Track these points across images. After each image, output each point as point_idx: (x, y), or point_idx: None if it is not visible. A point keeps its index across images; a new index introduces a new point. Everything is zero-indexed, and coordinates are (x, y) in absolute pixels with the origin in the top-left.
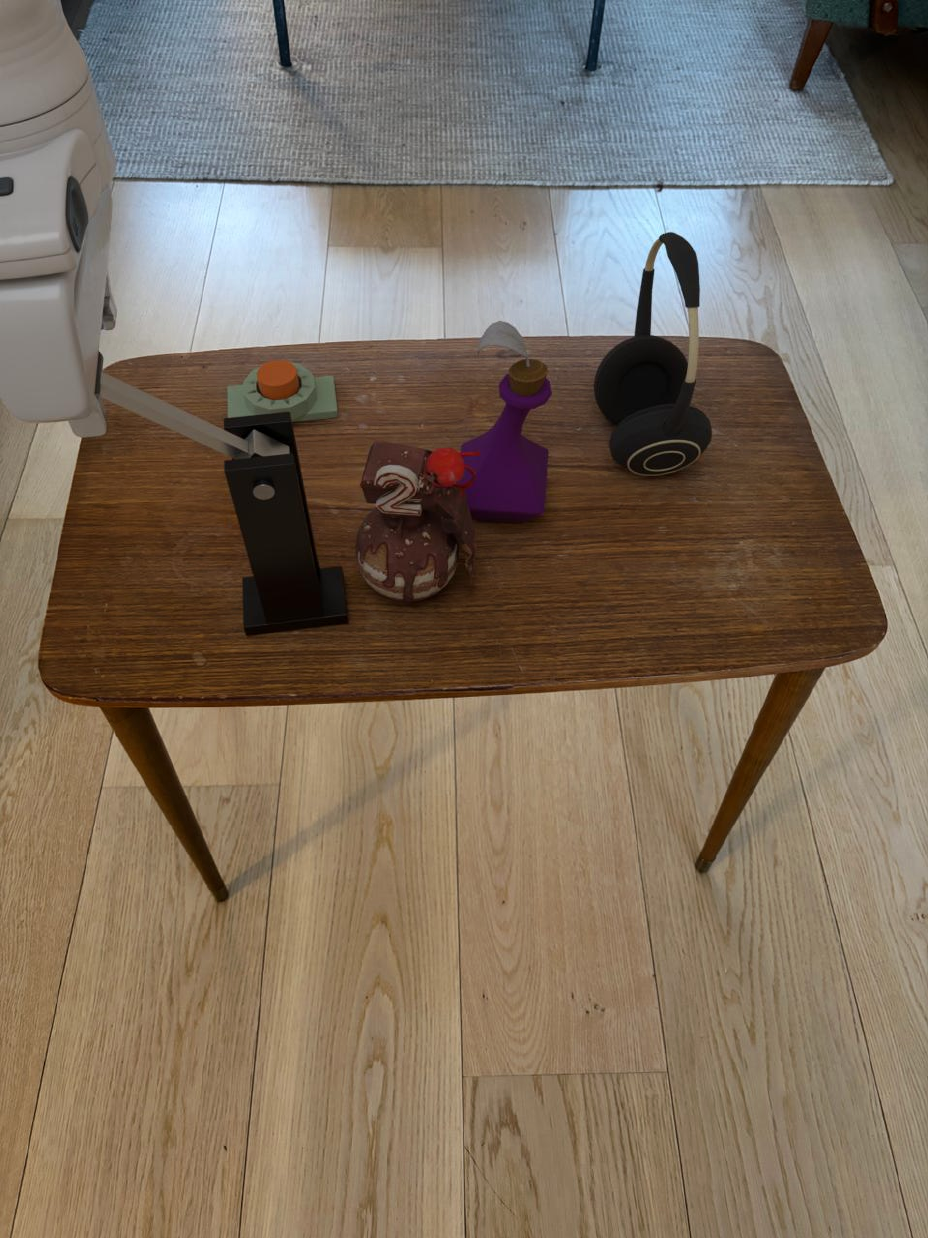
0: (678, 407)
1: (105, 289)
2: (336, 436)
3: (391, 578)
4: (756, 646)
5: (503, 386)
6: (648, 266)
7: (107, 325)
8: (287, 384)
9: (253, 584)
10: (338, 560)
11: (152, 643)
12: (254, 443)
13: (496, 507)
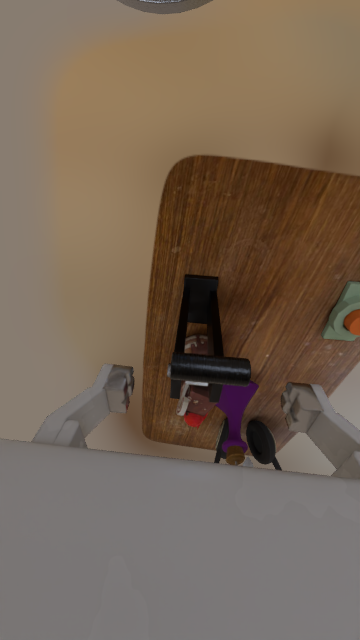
0: None
1: (315, 438)
2: (306, 332)
3: None
4: (147, 418)
5: (237, 444)
6: None
7: (283, 399)
8: (348, 328)
9: (211, 285)
10: (220, 319)
11: (192, 224)
12: (193, 384)
13: None
